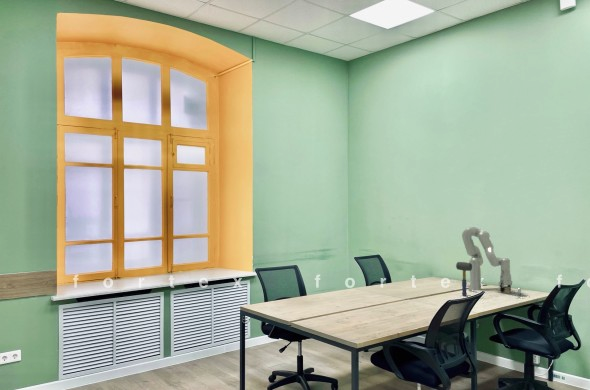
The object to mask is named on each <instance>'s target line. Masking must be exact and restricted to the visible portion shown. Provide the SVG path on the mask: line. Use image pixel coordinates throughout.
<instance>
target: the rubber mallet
mask: <svg viewBox="0 0 590 390" xmlns="http://www.w3.org/2000/svg"><path fill="white" fill-rule="evenodd" d="M455 268H456V270H460V271H462V279H461V281H462V282H461V287H462V293H461V295H462V296H463V297H466V296H467V294H468V293H467V286H468V285H467V284H468V283H467V278H466V277H467V276H466V275H467V273H466V272H467V271H468V272H470V271H471V270H472V264H471V263H469V262H467V261H466V262H465V261H457V263H456V265H455Z"/></svg>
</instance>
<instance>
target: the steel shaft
mask: <svg viewBox="0 0 590 390" xmlns="http://www.w3.org/2000/svg"><path fill="white" fill-rule="evenodd" d="M517 293H518V295H519V296H521V294H522V288H521V287H517Z"/></svg>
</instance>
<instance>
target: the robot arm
mask: <svg viewBox="0 0 590 390" xmlns="http://www.w3.org/2000/svg"><path fill="white" fill-rule="evenodd" d="M490 236H491V235H490V233H489V232H487V231H486V230H484V229H481V228H479V227H476V226H471V227H470V226H469V227H467V228H465V229H463V232H462V235H461V238H462V241H463V244H464V248H465V252H466V254H467V255H468V256H470V257H471V258H470V259H469V262H468V263H471V264H472V270H471V271H469V284H468V285H467V286H466V288H468V291H469V290H471V291H470V292H473V291H481V290H483V289H482V271H481V270H482V269H481V266H482V265H483V264H484V258H483V256H482V253H481V250H480V248H479V247H478V245H475V243H474V240H473V238H472V237H476V238H478V241H479V242H480V244H481V246H482V247H483V249H484V252H485V256H486V258H487V260H488V262H489V264H490V265H491V266H492V267H499V266H500V275H499V278H500V279H499V282H498V286H499V288H500V291H499V292H504V286H507V287H510V292H512V285H513V281H512V275H511V262H510V259H509V258H502V257H497V256H496V254H495V252H494V244H493V243H492V240H491V239H490Z"/></svg>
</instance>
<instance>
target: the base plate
mask: <svg viewBox="0 0 590 390" xmlns="http://www.w3.org/2000/svg"><path fill="white" fill-rule="evenodd" d="M497 293H498V294H502V295H508V296H514V297H516V298H520V297H527V296H529V295H528V294H522V293H521V296H519V295H518V292H512V291H510V293H501V291H497Z"/></svg>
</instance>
